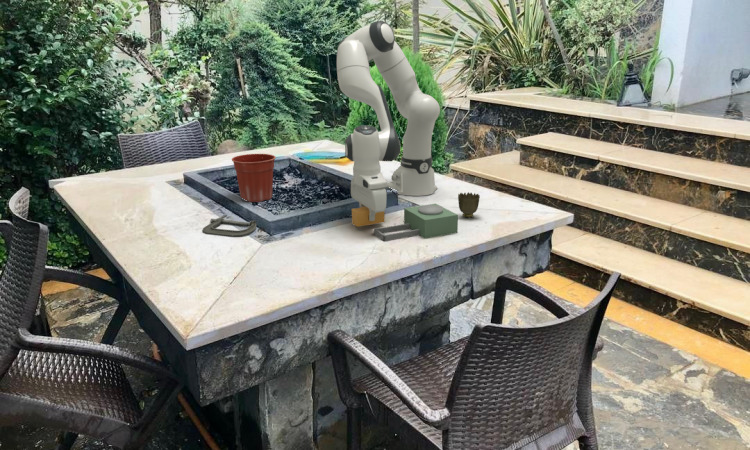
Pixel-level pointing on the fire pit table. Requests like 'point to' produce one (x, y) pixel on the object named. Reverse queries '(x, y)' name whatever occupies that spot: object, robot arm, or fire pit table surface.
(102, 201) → the fire pit table surface
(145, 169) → the fire pit table surface
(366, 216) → the orange rectangular block
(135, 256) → the fire pit table surface
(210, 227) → the c clamp
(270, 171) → the flower pot
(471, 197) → the cup
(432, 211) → the box with open drawer
